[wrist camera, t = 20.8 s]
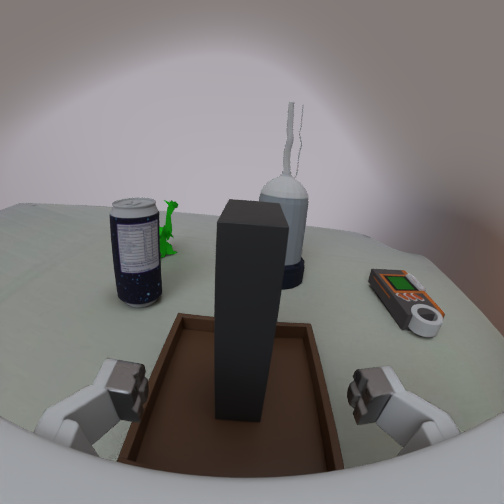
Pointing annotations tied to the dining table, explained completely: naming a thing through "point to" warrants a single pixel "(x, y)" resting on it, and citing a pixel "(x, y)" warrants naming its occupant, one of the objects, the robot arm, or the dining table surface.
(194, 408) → the tray
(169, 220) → the figurine
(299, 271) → the humidifier
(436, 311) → the electronic device
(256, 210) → the tall dark grey prism
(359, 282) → the dining table surface
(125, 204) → the beverage can
